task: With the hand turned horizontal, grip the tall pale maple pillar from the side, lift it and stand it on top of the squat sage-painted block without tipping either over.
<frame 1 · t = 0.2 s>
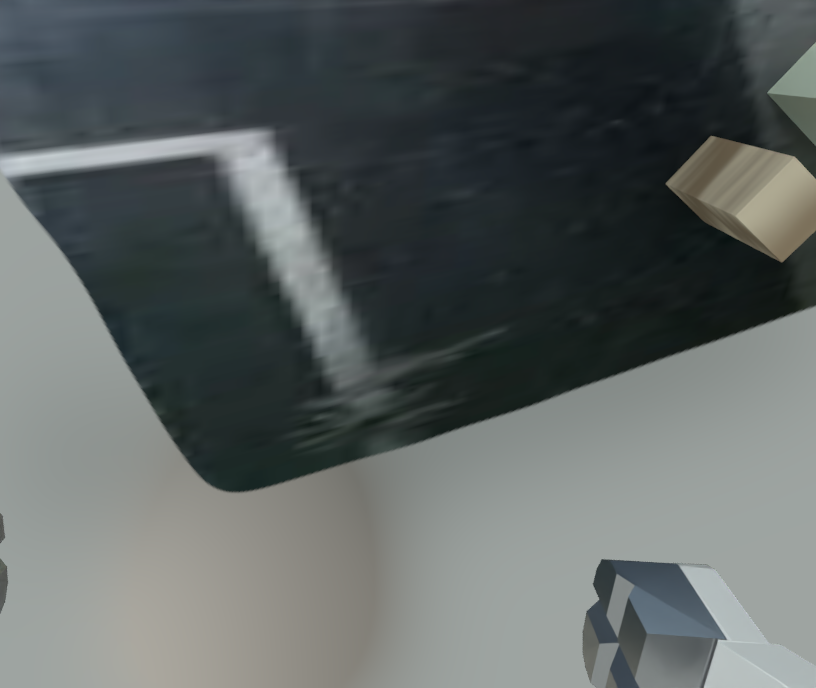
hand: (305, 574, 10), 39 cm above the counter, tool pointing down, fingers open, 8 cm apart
maple pillar: (707, 179, 47), on the counter
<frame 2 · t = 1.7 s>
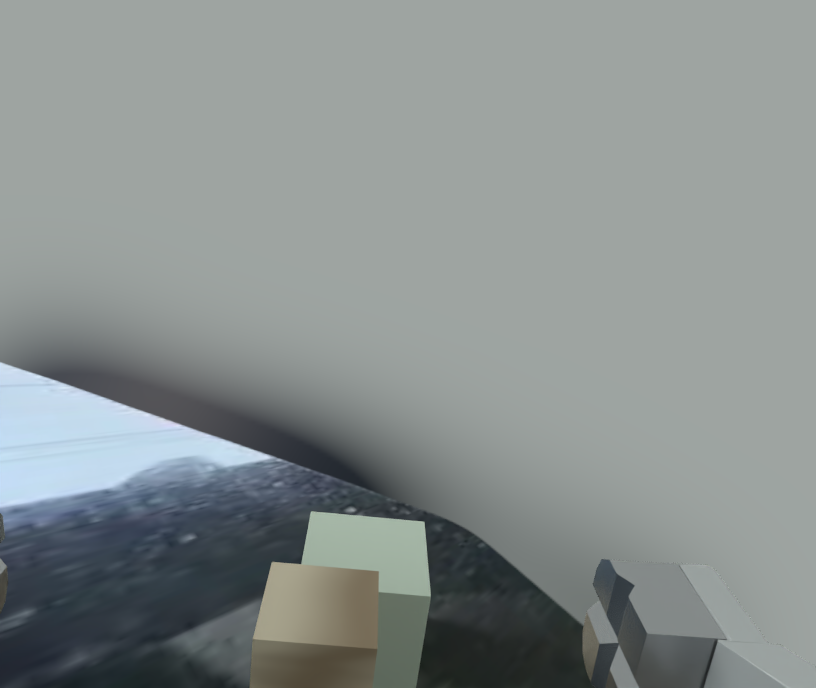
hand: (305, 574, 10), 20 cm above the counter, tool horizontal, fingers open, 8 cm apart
sage block: (354, 649, 37), on the counter
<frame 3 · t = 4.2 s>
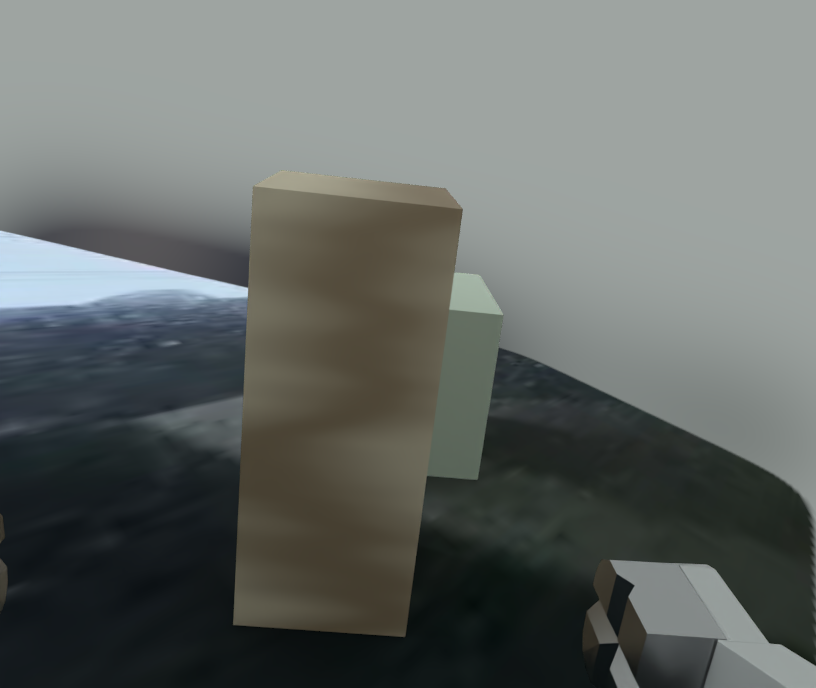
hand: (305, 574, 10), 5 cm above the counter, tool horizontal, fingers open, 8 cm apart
sage block: (390, 436, 27), on the counter
maple pillar: (326, 577, 18), on the counter
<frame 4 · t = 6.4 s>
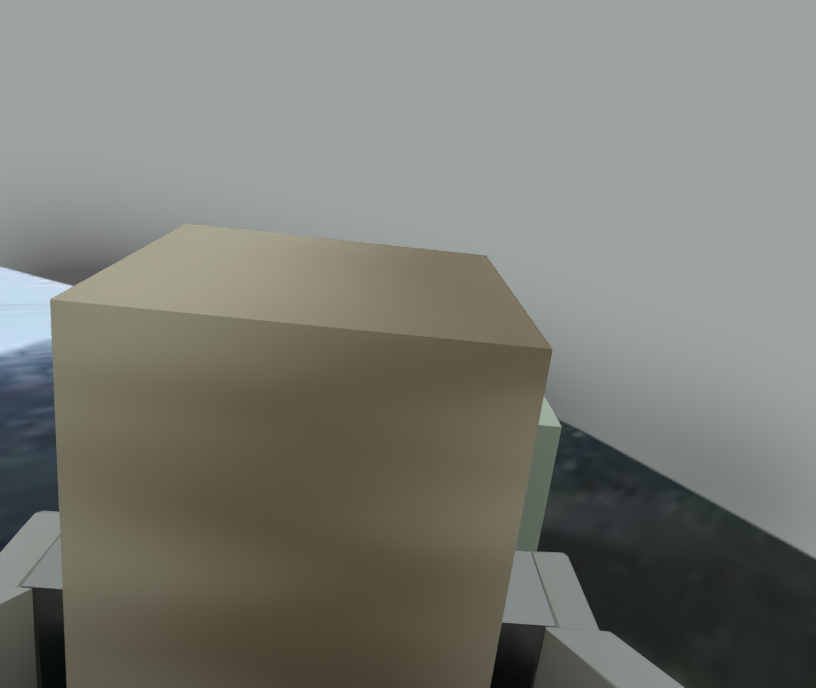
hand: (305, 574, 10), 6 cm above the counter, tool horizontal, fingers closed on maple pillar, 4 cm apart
sage block: (388, 570, 19), on the counter
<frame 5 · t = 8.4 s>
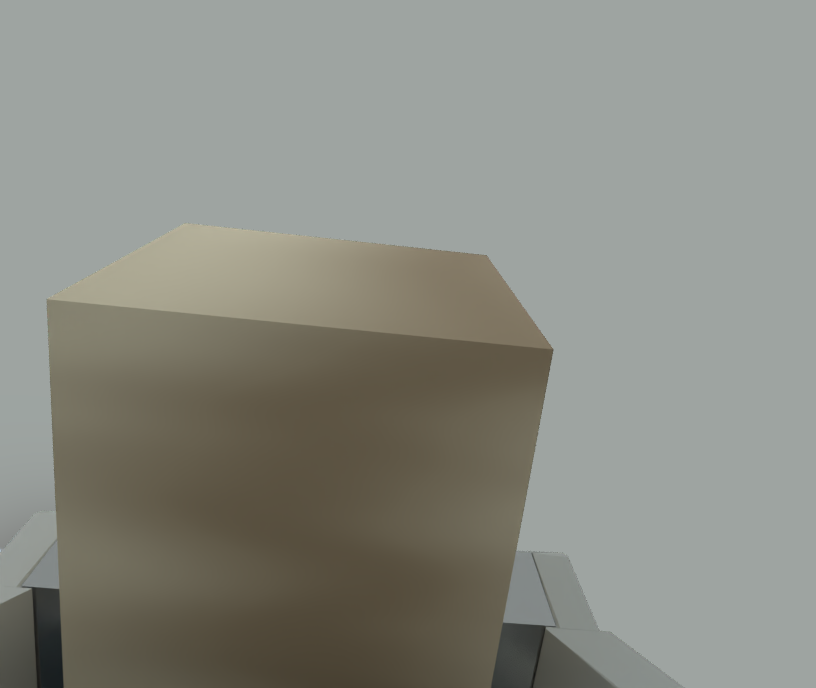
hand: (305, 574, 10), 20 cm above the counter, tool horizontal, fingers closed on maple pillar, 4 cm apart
when the fingers open (13 cm above the counter, at t = 10.7 s): maple pillar drops 1 cm, point 6 cm above the counter.
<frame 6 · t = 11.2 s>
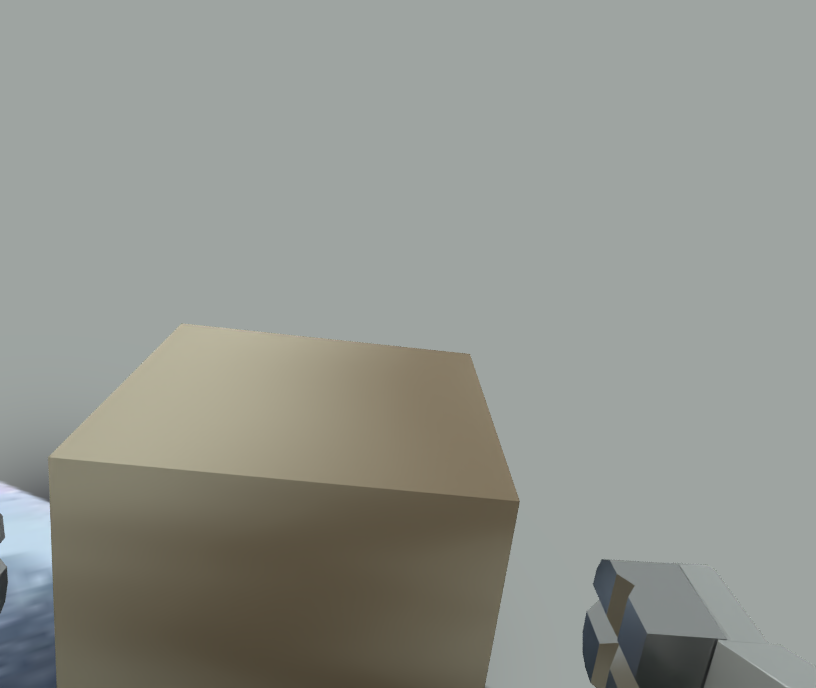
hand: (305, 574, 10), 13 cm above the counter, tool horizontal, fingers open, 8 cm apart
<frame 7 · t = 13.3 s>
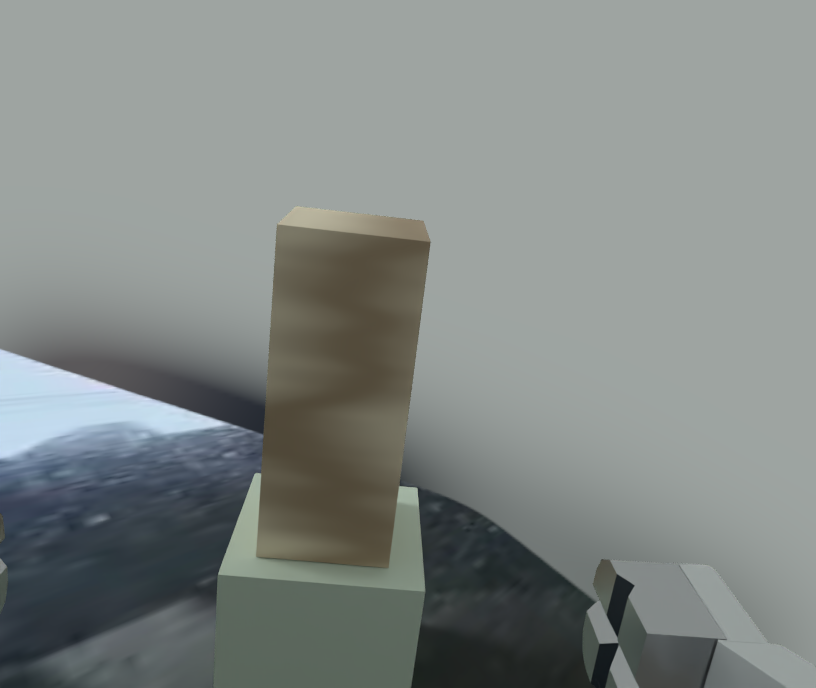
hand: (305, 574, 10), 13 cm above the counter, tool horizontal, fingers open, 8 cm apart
sage block: (316, 671, 25), on the counter, touching maple pillar
maple pillar: (328, 526, 23), point 6 cm above the counter, touching sage block
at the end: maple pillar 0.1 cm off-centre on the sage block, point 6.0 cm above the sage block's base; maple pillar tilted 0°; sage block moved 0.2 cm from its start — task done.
